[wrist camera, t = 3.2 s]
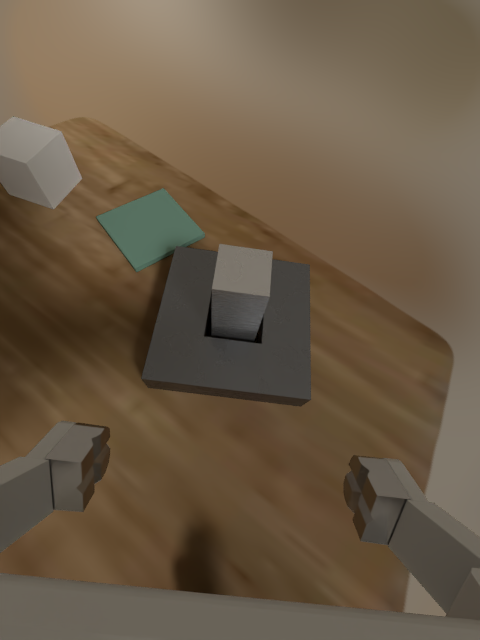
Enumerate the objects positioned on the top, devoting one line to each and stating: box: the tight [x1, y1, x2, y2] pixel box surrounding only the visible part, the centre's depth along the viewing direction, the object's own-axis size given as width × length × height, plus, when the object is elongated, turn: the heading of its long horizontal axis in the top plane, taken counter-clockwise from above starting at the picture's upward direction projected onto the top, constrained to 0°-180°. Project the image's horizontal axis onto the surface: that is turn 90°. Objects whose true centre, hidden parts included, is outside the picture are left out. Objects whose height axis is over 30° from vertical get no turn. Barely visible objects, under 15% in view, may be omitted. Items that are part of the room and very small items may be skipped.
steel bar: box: [211, 244, 273, 343], centre depth 25 cm, size 4×4×10 cm
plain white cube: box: [0, 116, 82, 209], centre depth 34 cm, size 6×6×6 cm
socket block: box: [141, 246, 311, 406], centre depth 28 cm, size 14×14×3 cm
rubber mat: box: [96, 188, 205, 272], centre depth 34 cm, size 9×9×1 cm
